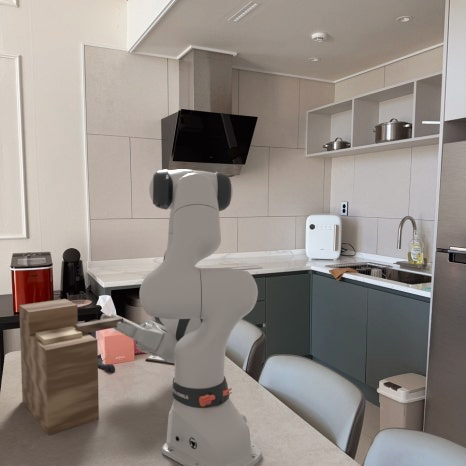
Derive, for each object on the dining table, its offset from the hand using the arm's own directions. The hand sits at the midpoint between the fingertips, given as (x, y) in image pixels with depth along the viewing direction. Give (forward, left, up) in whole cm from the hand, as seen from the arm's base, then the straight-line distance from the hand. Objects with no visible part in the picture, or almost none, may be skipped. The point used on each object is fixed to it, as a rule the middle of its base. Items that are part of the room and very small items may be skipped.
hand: (109, 320), depth 119 cm
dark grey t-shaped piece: (+25, -7, -23) cm, 34 cm away
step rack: (+3, +13, -22) cm, 25 cm away
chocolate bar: (+15, -30, -22) cm, 40 cm away
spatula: (0, +7, -2) cm, 7 cm away
